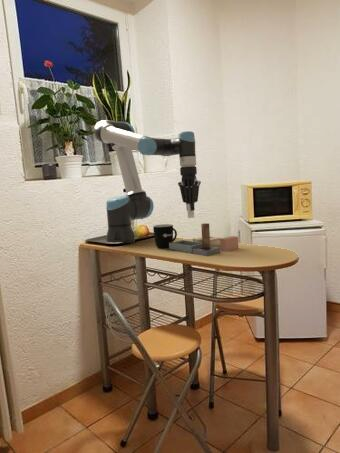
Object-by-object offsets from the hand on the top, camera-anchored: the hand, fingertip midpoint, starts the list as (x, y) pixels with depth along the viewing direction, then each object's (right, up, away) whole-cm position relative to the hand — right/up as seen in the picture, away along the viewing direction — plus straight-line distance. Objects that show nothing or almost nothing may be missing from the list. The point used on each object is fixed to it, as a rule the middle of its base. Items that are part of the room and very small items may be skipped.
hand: (191, 217), depth 167 cm
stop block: (+15, -14, -16) cm, 26 cm away
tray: (-2, -14, -12) cm, 19 cm away
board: (+7, -13, -6) cm, 16 cm away
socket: (+5, -15, -20) cm, 26 cm away
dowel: (+5, -15, -20) cm, 26 cm away
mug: (-11, -14, -2) cm, 18 cm away
